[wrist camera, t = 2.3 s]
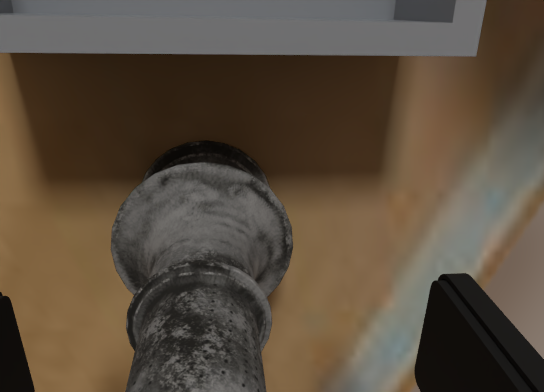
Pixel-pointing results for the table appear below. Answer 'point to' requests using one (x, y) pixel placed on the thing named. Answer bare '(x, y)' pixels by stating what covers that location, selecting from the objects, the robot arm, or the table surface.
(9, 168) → the table surface
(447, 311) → the robot arm
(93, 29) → the box
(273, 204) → the grey pawn
